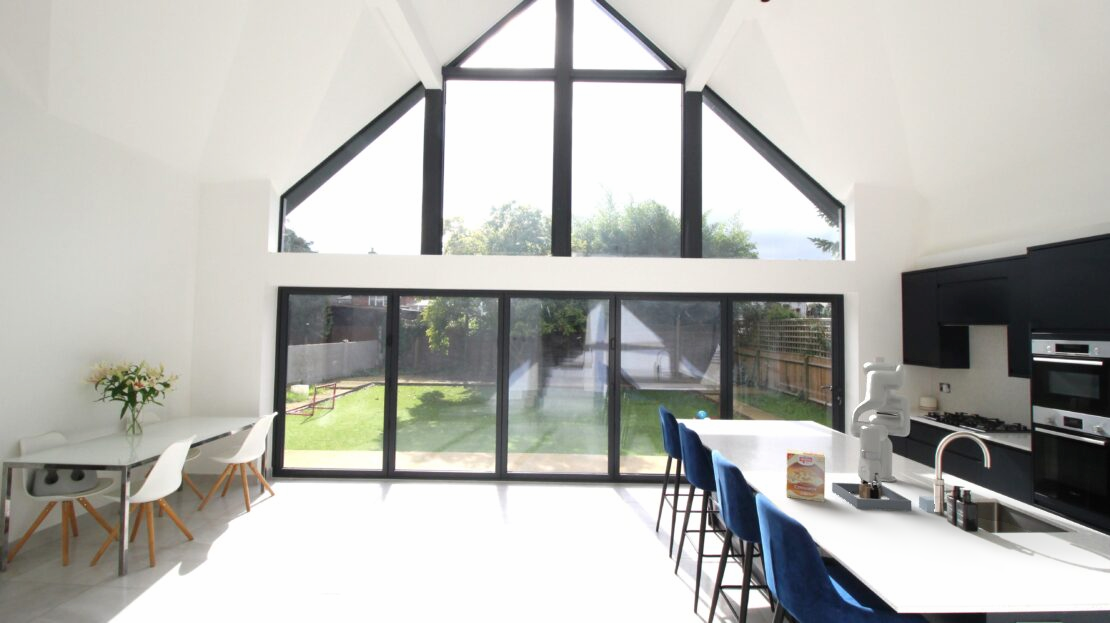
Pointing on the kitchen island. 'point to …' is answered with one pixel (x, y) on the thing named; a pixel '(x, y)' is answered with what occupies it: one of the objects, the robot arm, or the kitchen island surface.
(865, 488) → the walnut block
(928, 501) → the pale blue box
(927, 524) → the kitchen island surface
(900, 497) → the grey square tray
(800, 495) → the coffeecake box
